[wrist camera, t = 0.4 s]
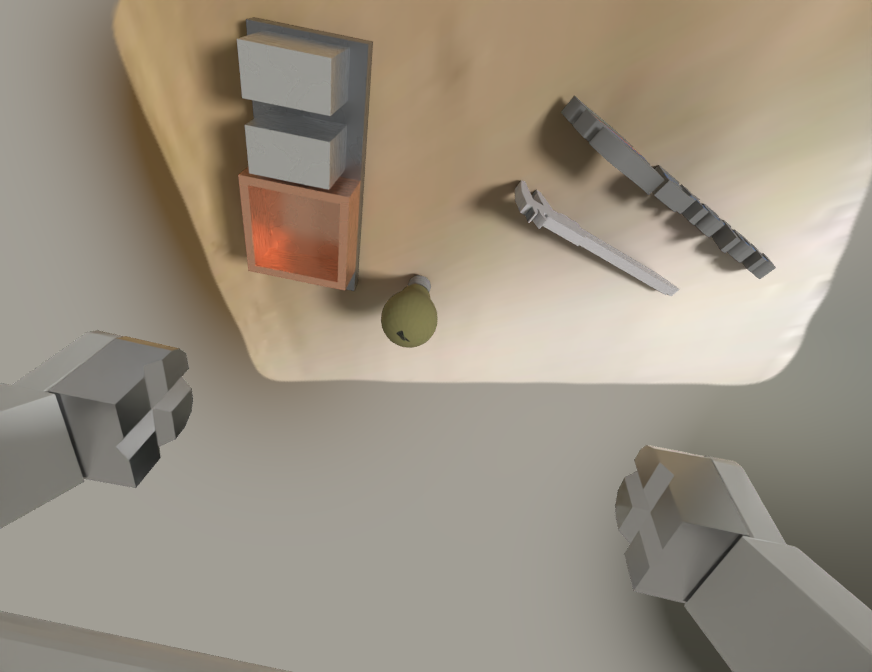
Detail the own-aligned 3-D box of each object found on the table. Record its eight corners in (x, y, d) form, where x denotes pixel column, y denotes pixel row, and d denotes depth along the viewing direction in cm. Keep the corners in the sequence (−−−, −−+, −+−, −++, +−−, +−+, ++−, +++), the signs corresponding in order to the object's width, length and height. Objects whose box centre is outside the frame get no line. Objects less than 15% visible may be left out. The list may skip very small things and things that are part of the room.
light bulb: (387, 287, 55) (366, 343, 47) (409, 250, 51) (390, 303, 43) (430, 310, 56) (416, 367, 48) (454, 274, 52) (443, 330, 45)
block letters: (559, 108, 41) (565, 127, 37) (573, 92, 40) (580, 109, 36) (751, 266, 48) (775, 298, 43) (766, 255, 47) (792, 286, 42)
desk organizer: (253, 17, 40) (215, 26, 35) (372, 41, 40) (352, 54, 35) (271, 266, 55) (246, 297, 50) (357, 283, 55) (341, 317, 50)
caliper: (514, 186, 46) (514, 214, 41) (521, 177, 45) (522, 204, 40) (670, 293, 51) (687, 329, 46) (679, 286, 50) (696, 322, 45)
